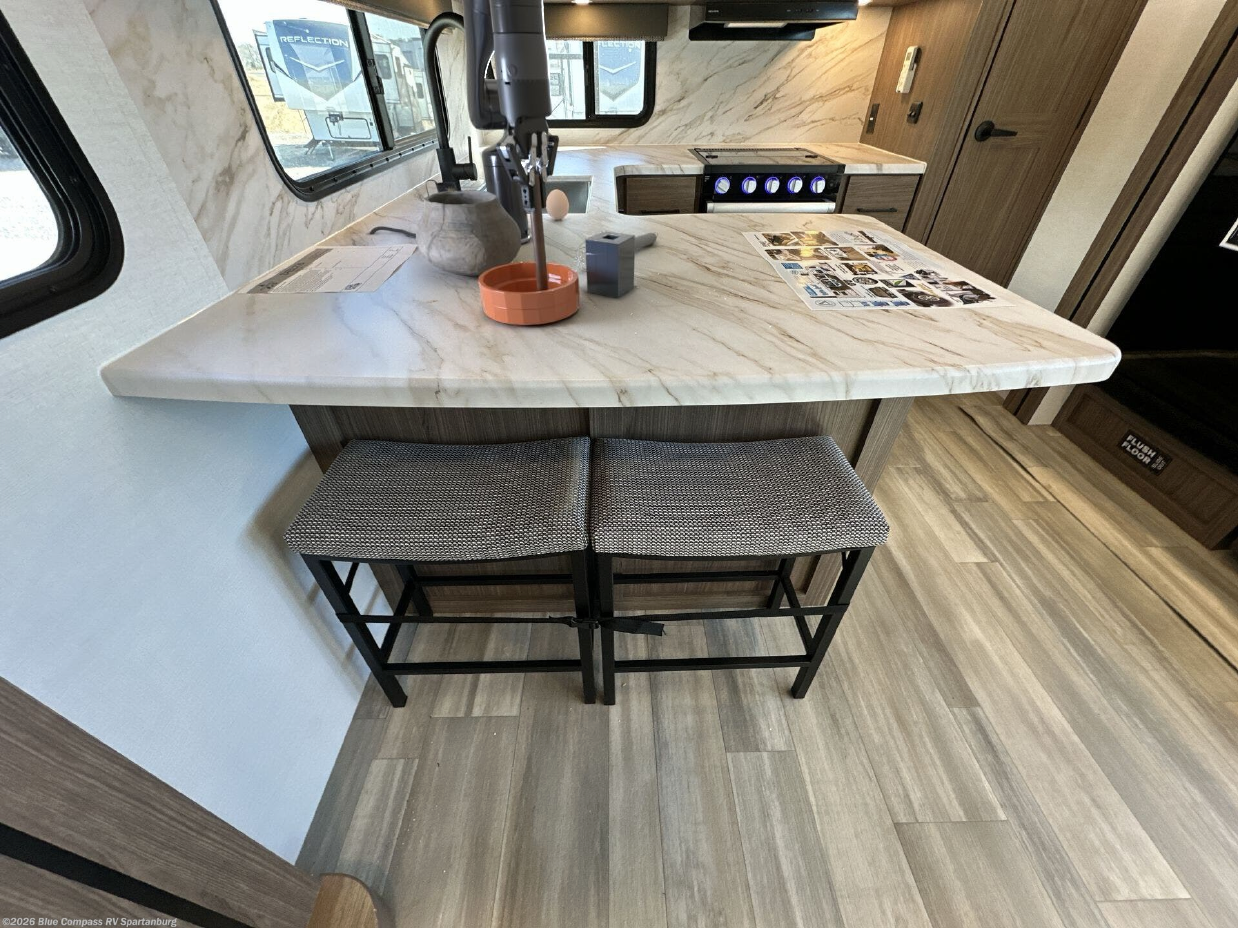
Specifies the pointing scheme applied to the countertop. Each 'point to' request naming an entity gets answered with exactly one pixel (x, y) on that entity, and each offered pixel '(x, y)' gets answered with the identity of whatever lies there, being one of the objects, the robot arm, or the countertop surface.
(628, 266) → the block
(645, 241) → the kitchen whisk
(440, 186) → the mug
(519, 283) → the bowl
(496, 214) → the clay pot
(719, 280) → the countertop surface
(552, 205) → the egg
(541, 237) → the stirring stick
